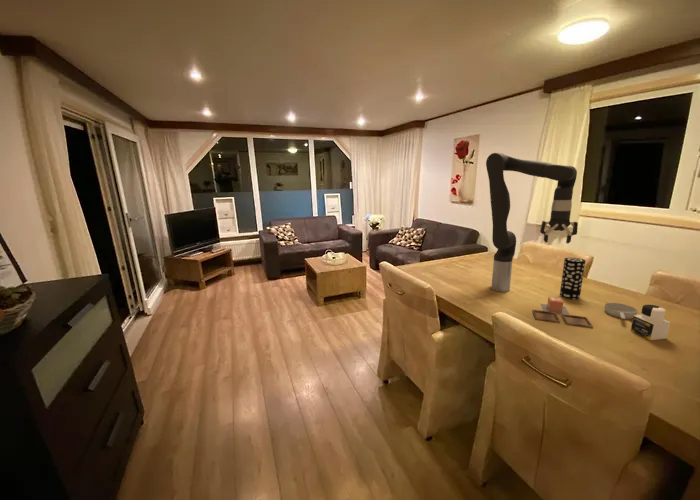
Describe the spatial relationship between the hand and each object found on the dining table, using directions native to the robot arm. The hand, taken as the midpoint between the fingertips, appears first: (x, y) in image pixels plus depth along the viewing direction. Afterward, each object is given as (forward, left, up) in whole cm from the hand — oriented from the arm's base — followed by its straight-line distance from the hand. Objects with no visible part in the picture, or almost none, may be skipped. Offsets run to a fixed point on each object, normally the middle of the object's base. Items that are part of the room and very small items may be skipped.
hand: (556, 242), depth 138 cm
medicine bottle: (+28, -26, -30) cm, 49 cm away
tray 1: (-5, -23, -30) cm, 38 cm away
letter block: (0, -13, -30) cm, 32 cm away
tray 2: (+6, -23, -30) cm, 39 cm away
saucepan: (+24, -12, -30) cm, 40 cm away
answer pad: (0, -13, -30) cm, 33 cm away
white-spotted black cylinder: (+10, +8, -30) cm, 33 cm away
